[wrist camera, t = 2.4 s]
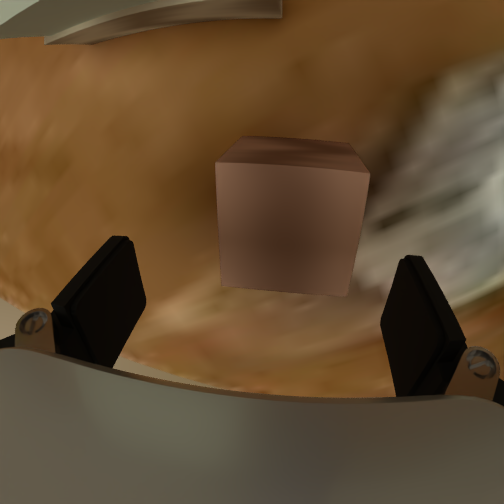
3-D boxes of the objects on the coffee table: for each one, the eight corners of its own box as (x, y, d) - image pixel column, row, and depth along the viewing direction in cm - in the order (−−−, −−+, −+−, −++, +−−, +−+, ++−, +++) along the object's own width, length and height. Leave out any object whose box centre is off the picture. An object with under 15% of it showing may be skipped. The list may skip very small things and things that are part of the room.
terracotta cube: (348, 143, 16) (370, 173, 11) (336, 236, 19) (346, 297, 14) (242, 135, 17) (215, 162, 12) (243, 228, 20) (221, 285, 15)
